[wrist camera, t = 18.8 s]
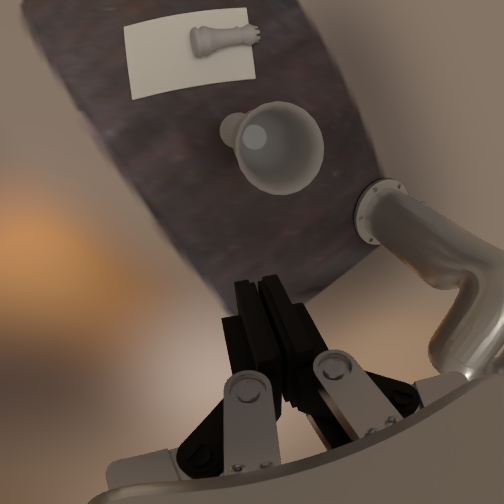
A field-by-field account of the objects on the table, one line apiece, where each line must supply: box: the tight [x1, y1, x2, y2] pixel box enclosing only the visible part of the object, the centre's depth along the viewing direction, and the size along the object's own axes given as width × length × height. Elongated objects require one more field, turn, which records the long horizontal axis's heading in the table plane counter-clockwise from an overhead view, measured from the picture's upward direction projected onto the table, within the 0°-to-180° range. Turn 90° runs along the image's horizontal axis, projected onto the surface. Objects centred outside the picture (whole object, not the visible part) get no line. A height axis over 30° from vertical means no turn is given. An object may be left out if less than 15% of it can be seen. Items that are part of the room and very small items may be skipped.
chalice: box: [220, 101, 324, 195], centre depth 27 cm, size 7×7×18 cm
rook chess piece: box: [190, 24, 260, 58], centre depth 26 cm, size 4×4×8 cm
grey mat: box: [124, 8, 256, 100], centre depth 28 cm, size 16×11×1 cm
